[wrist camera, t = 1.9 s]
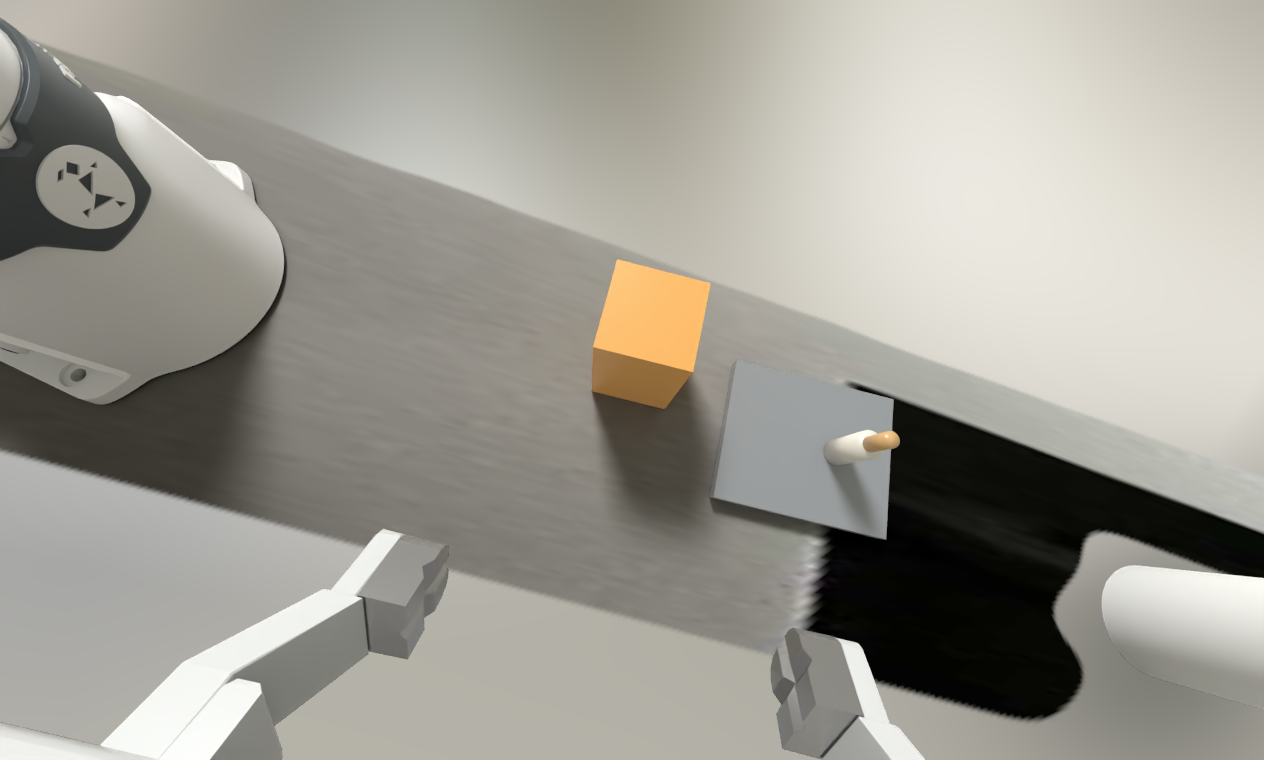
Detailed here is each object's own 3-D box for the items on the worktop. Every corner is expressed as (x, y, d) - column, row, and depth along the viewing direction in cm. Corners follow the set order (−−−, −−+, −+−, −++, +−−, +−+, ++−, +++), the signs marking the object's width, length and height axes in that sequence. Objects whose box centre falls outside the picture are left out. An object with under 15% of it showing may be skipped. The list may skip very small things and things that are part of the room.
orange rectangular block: (591, 391, 32) (593, 347, 23) (609, 324, 33) (617, 259, 25) (664, 409, 32) (692, 372, 23) (679, 341, 33) (710, 283, 25)
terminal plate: (709, 497, 30) (713, 497, 29) (732, 364, 33) (736, 359, 32) (876, 538, 31) (886, 539, 30) (884, 402, 34) (893, 399, 33)
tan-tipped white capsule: (822, 462, 31) (875, 451, 25) (824, 437, 31) (877, 420, 26) (846, 468, 31) (905, 458, 25) (848, 443, 31) (906, 428, 26)
